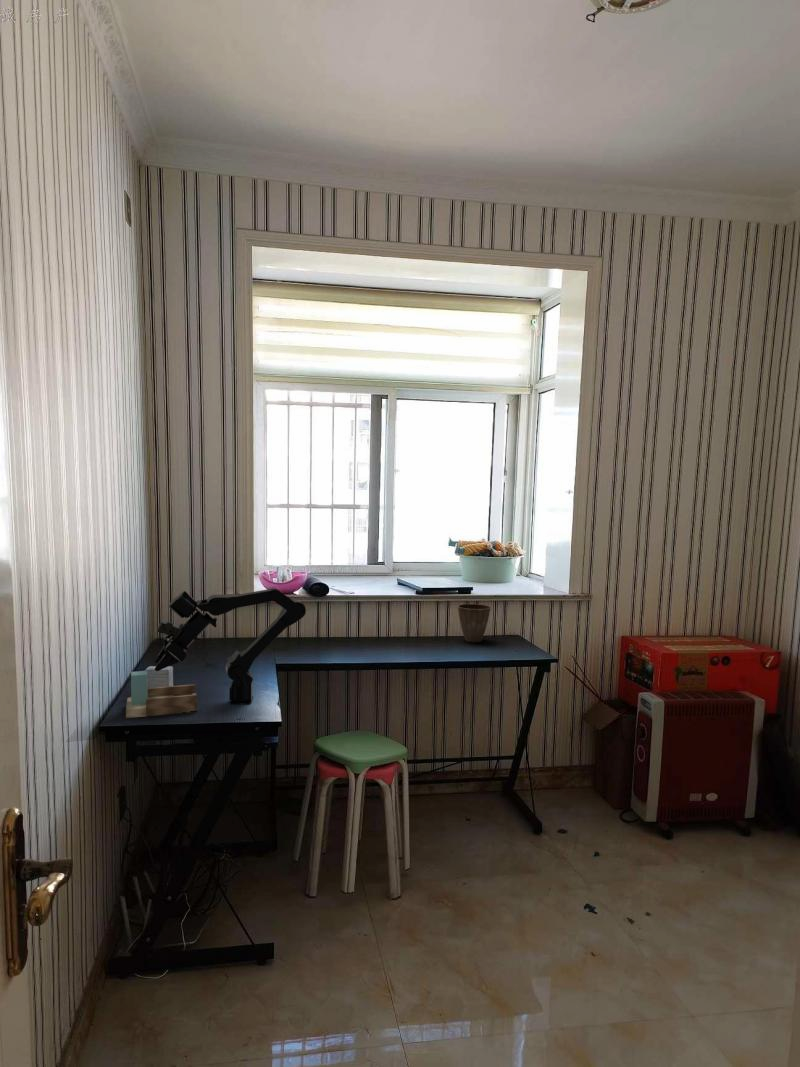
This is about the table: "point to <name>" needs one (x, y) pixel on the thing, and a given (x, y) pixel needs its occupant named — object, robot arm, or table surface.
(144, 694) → the teal block
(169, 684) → the medicine box
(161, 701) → the channel track
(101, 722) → the table surface
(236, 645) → the table surface
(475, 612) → the plant pot
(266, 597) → the robot arm
